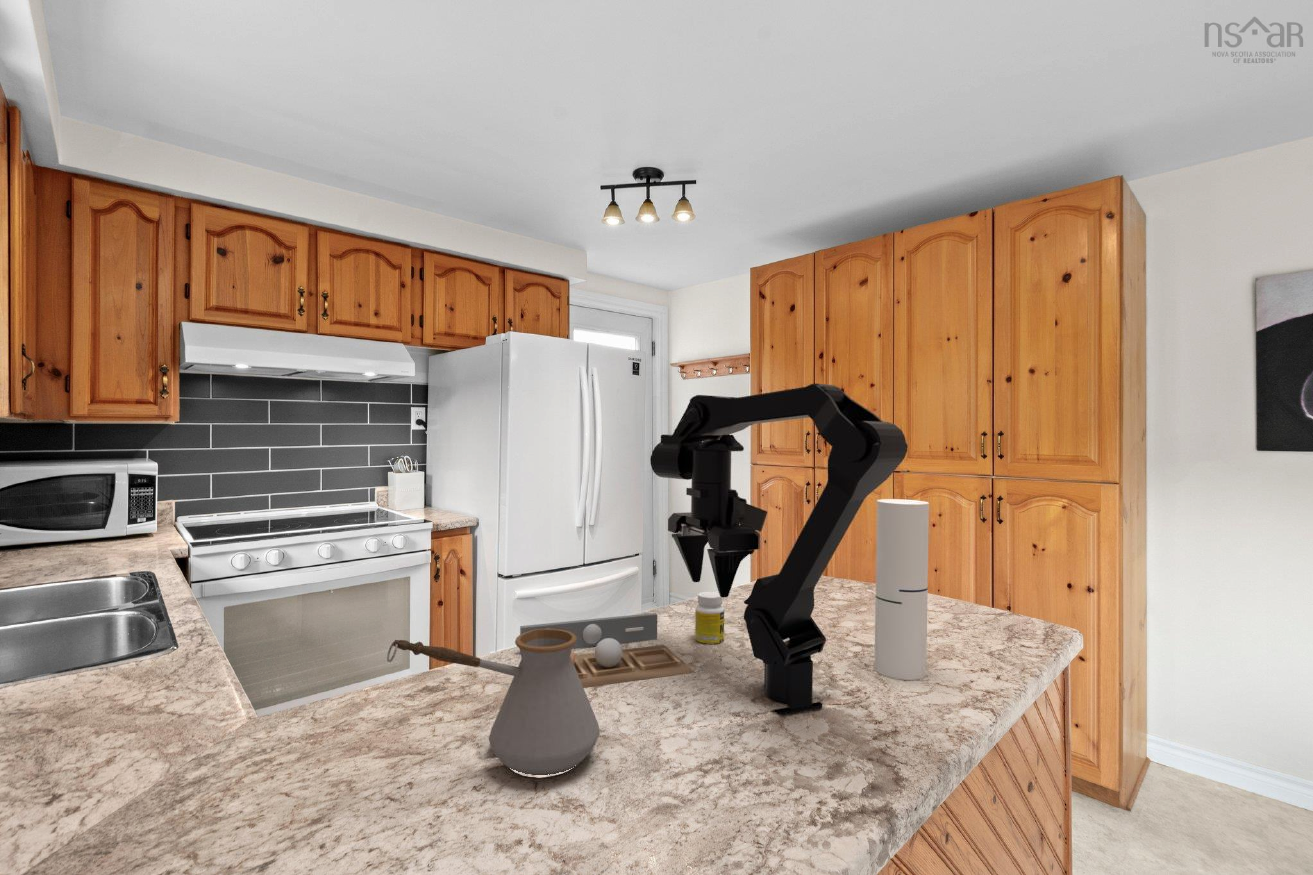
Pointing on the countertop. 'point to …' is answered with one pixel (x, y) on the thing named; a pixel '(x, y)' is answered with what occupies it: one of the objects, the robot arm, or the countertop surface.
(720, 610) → the supplement bottle
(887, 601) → the cylindrical container
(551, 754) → the coffee pot
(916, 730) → the countertop surface
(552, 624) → the card
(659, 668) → the rack
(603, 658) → the grey ball
